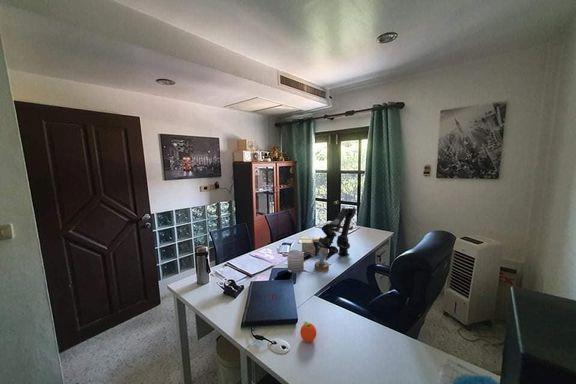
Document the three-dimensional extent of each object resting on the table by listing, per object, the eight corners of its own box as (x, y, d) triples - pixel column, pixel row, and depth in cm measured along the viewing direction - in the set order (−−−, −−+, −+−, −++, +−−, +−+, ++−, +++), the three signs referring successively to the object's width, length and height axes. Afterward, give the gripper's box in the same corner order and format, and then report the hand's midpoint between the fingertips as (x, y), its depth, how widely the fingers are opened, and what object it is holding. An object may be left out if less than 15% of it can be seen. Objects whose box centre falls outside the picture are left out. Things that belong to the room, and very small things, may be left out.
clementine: (296, 335, 101) (295, 321, 100) (309, 329, 104) (308, 315, 103) (306, 348, 94) (305, 333, 93) (319, 341, 97) (319, 326, 96)
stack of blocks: (301, 253, 187) (301, 239, 186) (302, 250, 194) (301, 236, 192) (328, 253, 185) (328, 239, 184) (327, 250, 192) (327, 236, 190)
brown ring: (322, 263, 168) (322, 259, 167) (331, 269, 160) (331, 264, 159) (312, 267, 163) (312, 263, 162) (320, 272, 155) (320, 268, 154)
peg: (323, 267, 163) (322, 250, 161) (324, 268, 160) (324, 251, 158) (319, 267, 162) (318, 250, 161) (320, 269, 160) (320, 252, 158)
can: (300, 264, 168) (300, 249, 166) (306, 271, 157) (306, 255, 155) (285, 267, 164) (285, 251, 163) (290, 274, 154) (290, 257, 152)
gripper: (314, 230, 167) (304, 249, 161) (336, 235, 154) (327, 256, 148) (320, 237, 174) (311, 256, 167) (342, 243, 161) (333, 263, 155)
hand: (320, 258), depth 159 cm, fingers open, 9 cm apart
